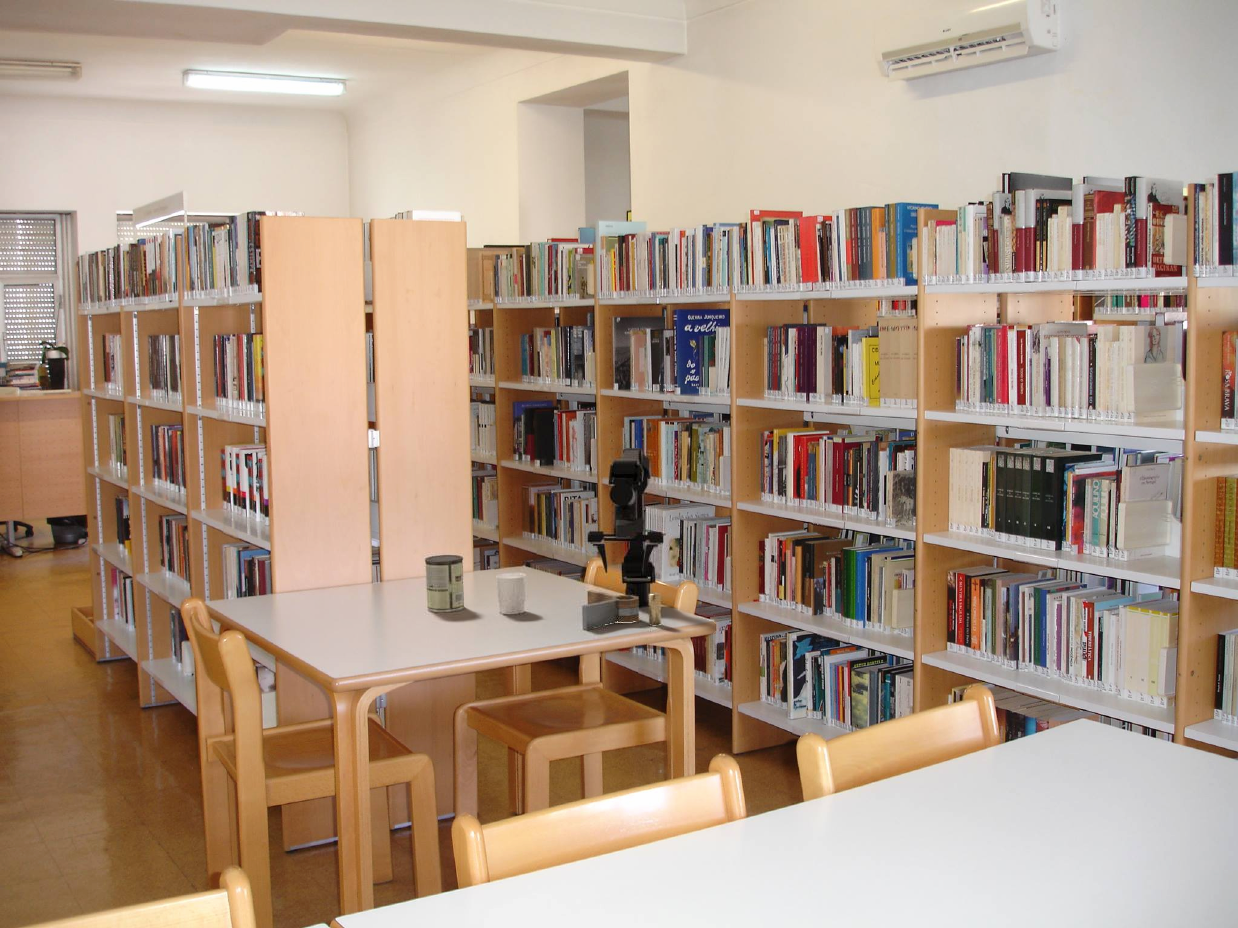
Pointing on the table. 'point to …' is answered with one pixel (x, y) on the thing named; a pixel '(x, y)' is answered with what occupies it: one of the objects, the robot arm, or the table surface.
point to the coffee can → (444, 583)
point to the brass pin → (654, 608)
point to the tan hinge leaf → (622, 602)
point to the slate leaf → (604, 613)
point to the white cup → (511, 592)
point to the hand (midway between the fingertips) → (625, 572)
